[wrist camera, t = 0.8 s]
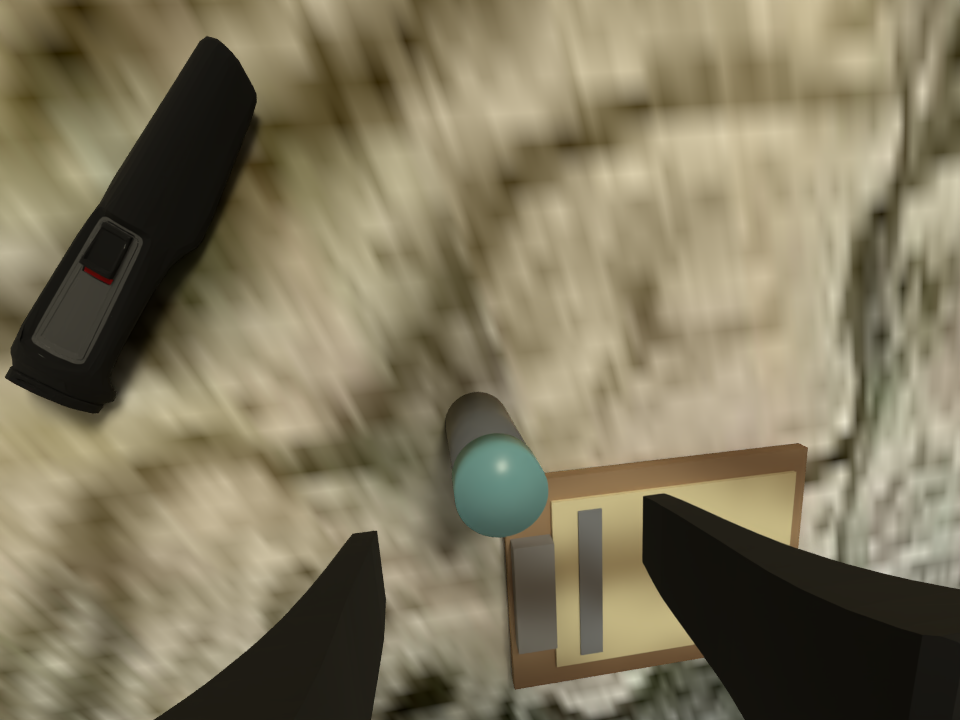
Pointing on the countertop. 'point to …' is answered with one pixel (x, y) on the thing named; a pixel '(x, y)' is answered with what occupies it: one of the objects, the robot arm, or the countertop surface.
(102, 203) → the electric trimmer
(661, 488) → the clipboard
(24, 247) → the countertop surface
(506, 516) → the marker
